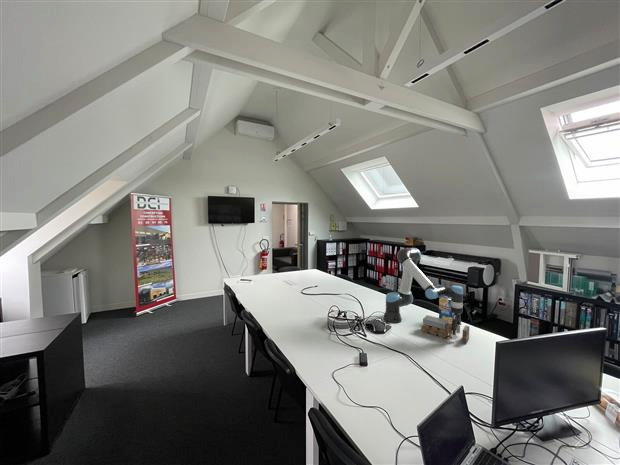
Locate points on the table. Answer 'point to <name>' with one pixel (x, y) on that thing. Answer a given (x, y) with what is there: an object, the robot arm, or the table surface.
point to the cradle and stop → (463, 335)
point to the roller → (449, 328)
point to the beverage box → (445, 308)
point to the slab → (435, 322)
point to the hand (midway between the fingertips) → (456, 335)
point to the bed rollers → (434, 330)
